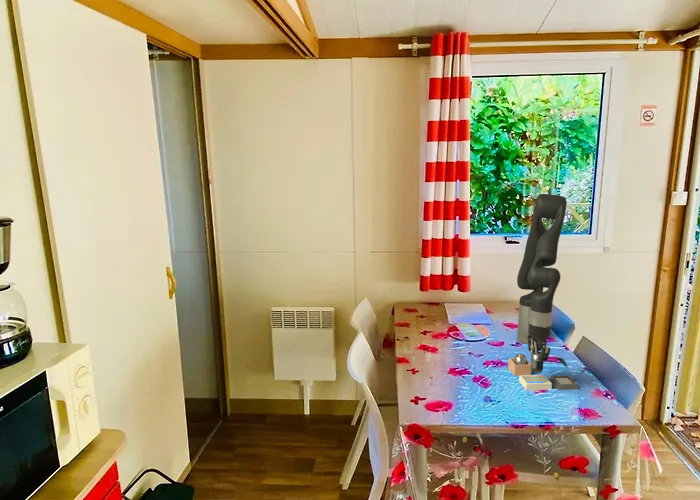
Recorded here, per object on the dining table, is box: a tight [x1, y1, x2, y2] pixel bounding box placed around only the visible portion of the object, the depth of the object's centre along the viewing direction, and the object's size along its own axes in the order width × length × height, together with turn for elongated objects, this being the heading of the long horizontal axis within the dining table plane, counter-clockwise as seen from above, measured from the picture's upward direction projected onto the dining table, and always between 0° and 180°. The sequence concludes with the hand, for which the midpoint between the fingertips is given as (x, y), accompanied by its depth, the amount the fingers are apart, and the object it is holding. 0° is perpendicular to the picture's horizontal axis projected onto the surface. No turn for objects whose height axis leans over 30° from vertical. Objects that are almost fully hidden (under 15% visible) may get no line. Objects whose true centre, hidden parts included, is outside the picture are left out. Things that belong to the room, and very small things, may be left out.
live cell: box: [530, 352, 543, 374], centre depth 176 cm, size 4×4×7 cm
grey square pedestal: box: [548, 374, 580, 391], centre depth 178 cm, size 7×8×3 cm
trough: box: [518, 374, 553, 391], centre depth 178 cm, size 7×9×3 cm
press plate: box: [555, 378, 572, 384], centre depth 178 cm, size 5×5×1 cm
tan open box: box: [507, 357, 532, 377], centre depth 189 cm, size 6×6×5 cm
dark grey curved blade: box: [555, 356, 567, 368], centre depth 195 cm, size 8×1×15 cm
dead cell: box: [514, 353, 527, 365], centre depth 188 cm, size 4×4×7 cm
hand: (536, 367), depth 177 cm, fingers closed on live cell, 4 cm apart
